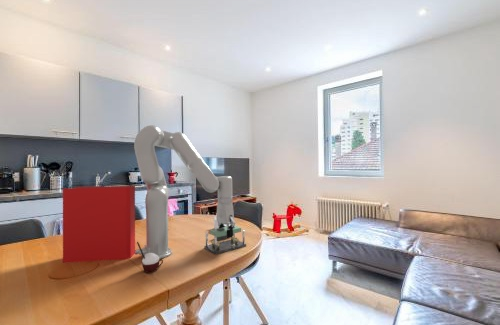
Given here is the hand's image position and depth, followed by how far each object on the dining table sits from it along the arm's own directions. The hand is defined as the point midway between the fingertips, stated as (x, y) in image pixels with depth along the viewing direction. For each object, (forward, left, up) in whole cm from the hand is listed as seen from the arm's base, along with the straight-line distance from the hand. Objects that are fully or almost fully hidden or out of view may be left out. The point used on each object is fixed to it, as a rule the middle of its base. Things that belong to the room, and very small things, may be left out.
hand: (225, 235), depth 117 cm
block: (+6, +13, -6) cm, 15 cm away
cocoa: (-37, -3, -6) cm, 38 cm away
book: (-51, +25, -6) cm, 57 cm away
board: (0, 0, +1) cm, 1 cm away
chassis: (0, 0, -6) cm, 6 cm away
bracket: (+16, +28, -6) cm, 33 cm away
